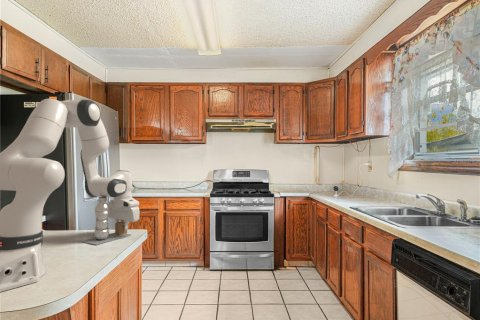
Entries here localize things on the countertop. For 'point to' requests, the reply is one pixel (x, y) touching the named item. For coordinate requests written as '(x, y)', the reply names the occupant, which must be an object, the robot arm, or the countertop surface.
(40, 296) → the countertop surface
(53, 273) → the countertop surface
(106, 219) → the plastic bottle
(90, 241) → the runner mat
